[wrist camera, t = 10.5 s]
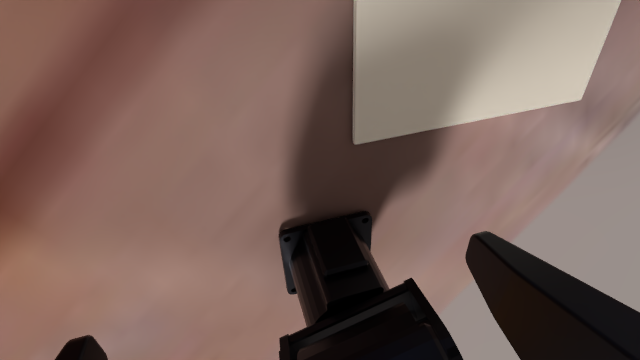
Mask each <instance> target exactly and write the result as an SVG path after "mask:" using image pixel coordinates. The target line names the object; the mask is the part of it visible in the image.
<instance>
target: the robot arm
mask: <svg viewBox="0 0 640 360" xmlns="http://www.w3.org/2000/svg"><path fill="white" fill-rule="evenodd" d="M364 218H365V219H364ZM371 229H372V217H371V215H370V214H369V212H366V211H365V212H359V213H355V214H351V215H347V216H342V217H338V218H334V219H330V220H325V221H321V222H317V223H313V224H308V225H304V226H300V227H295V228H291V229H287V230H284V231H282V232H280V234H279V242H280V249H281V255H282V261H283V268H284V274H285V280H286V286H287V291H288V293H289V294H298V298H299V301H300V305H301V308H302V312H303V315H304V319H305V322H306V326H307V327H306V328H304V329H302V330H300V331H297V332H295V333H293V334H291V335H288V334H287V335H285V336H283V337H281V338H280V351H279V358H280V360H463V358H462V356H461V354H460V352H459V350H458V348H457V346H456V344H455V342H454V341H453V339H452V337H451V335H450V333H449V332H448V330H447V328H446V327H445V325H444V324H443V322H442V321H441V319H440V318H439V316H438V315H437V313H436V312H435V311H434V309H433V308H432V306H431V305H430V303H429V302H428V300H427V299H426V297H425V296H424V295H423V293H422V292H421V290H420V289H419V287H418V286H417V284H416V283H415V282H414V280H413V279H412V278H410V279H407V280H405V281H404V283H402V284H400V285H398V286H396V287H394V288H391V289H389V287H388V285H387V283H386V281H385V279H384V277H383V275H382V274H381V272H380V270H379V268H378V266H377V264H376V262H375V260H374V258H373V256H372V254H371V252H370V248H371ZM285 237H287V238H285ZM466 263H467V265H468V267H469V269H470V271H471V273H472V275H473V277H474V279H475V281H476V283H477V285H478V287H479V289H480V291H481V293H482V295H483V297H484V299H485V301H486V303H487V305H488V307H489V309H490V311H491V313H492V314H493V317H494V318H495V320H496V321H497V323H498V325H499V327H500V328H501V330H502V331H503V333H504V334H505V336H506V337H507V339H508V341H509V342H510V344H511V345H512V347H513V348H514V350H515V352H516V353H517V355H518V356H519V358H520V359H521V360H640V312H638V311H636V310H634V309H632V308H630V307H628V306H627V305H625V304H623V303H621V302H619V301H617V300H615V299H613V298H612V297H610V296H608V295H606V294H604V293H602V292H601V291H599V290H597V289H595V288H593V287H591V286H589V285H588V284H586V283H584V282H582V281H580V280H578V279H576V278H575V277H573V276H571V275H569V274H567V273H565V272H563V271H562V270H559V269H558V268H556V267H554V266H552V265H550V264H548V263H547V262H545V261H543V260H541V259H539V258H537V257H536V256H534V255H532V254H530V253H528V252H526V251H524V250H522V249H521V248H519V247H517V246H515V245H513V244H511V243H510V242H508V241H506V240H504V239H502V238H500V237H498V236H496V235H495V234H493V233H491V232H488V231H484V232H480V233H476V234H473V235H472V236H471V238H470V241H469V245H468V248H467V252H466ZM55 360H108V358H107V355H106V353H105V352H104V350H103V349H102V348H101V347H100V345H99V344H98V343H97V341H96V340H95V339H94V337H93V336H90V335H86V336H82V337H79V338H75V339H72V340H70V341H68V342H67V343H66V344H65V346H64V347H63V349H62V350H61V351H60V353H59V354H58V356H57V357H56V359H55Z"/></svg>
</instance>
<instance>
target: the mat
mask: <svg viewBox="0 0 640 360" xmlns="http://www.w3.org/2000/svg"><path fill="white" fill-rule="evenodd" d="M620 2H621V0H354V14H353V143H354V144H355V145H357V144H362V143H367V142H372V141H377V140H382V139H387V138H392V137H397V136H402V135H407V134H412V133H417V132H422V131H427V130H432V129H437V128H443V127H448V126H453V125H458V124H463V123H468V122H473V121H478V120H483V119H488V118H493V117H498V116H503V115H508V114H513V113H518V112H523V111H528V110H533V109H538V108H543V107H548V106H553V105H558V104H563V103H568V102H573V101H578V100H581V99H582V96H583V94H584V91H585V89H586V86H587V84H588V81H589V79H590V76H591V74H592V71H593V69H594V67H595V64H596V62H597V59H598V57H599V54H600V52H601V49H602V47H603V44H604V42H605V39H606V37H607V34H608V32H609V29H610V27H611V24H612V22H613V19H614V17H615V14H616V12H617V10H618V7H619V5H620Z"/></svg>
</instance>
